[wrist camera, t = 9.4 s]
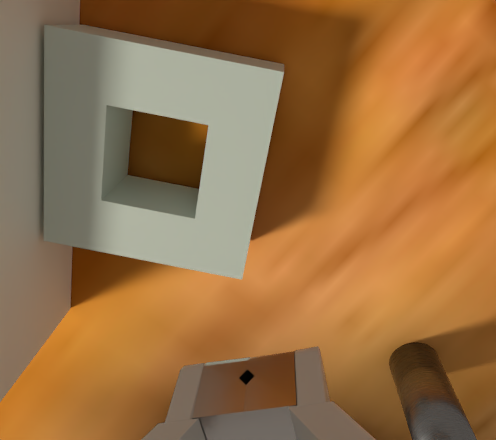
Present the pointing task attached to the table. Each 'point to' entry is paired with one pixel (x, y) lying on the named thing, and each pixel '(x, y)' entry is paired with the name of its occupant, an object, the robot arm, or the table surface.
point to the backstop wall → (27, 190)
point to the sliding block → (118, 146)
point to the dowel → (427, 395)
